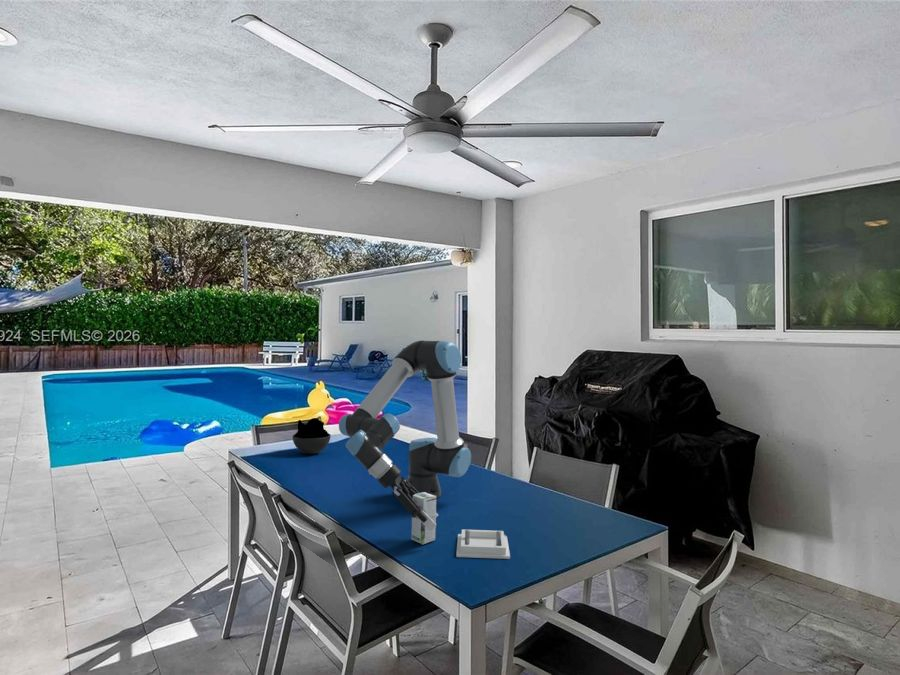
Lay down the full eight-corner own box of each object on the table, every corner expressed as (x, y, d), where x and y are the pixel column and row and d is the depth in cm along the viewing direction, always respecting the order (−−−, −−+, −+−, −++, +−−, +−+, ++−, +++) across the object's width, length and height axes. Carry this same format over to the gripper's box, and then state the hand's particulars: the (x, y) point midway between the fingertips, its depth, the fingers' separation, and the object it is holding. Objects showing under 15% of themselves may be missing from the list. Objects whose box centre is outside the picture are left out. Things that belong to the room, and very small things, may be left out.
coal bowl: (332, 449, 298) (333, 416, 298) (326, 458, 278) (327, 422, 278) (296, 449, 297) (297, 415, 296) (288, 458, 277) (288, 422, 276)
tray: (458, 536, 174) (458, 521, 174) (506, 538, 174) (507, 523, 174) (456, 556, 158) (456, 540, 158) (510, 559, 158) (510, 542, 158)
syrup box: (410, 539, 170) (411, 494, 170) (424, 534, 174) (425, 491, 174) (422, 545, 166) (423, 499, 166) (436, 540, 170) (437, 495, 170)
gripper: (382, 470, 181) (428, 519, 180) (370, 489, 160) (422, 543, 160) (398, 455, 181) (444, 504, 180) (388, 472, 160) (440, 526, 159)
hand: (434, 522), depth 170 cm, fingers closed on syrup box, 8 cm apart
